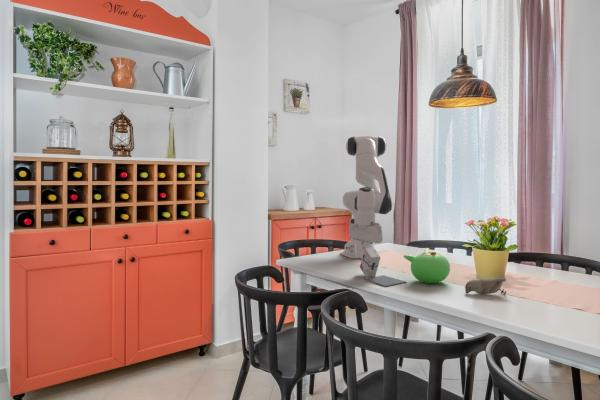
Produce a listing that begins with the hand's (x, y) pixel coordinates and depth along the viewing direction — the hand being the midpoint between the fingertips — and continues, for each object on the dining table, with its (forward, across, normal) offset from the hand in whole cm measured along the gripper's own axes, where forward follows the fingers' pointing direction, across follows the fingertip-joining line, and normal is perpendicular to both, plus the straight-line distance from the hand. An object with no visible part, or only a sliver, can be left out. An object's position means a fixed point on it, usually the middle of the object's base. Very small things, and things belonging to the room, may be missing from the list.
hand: (365, 249), depth 204 cm
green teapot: (+13, -25, -17) cm, 33 cm away
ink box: (+11, -1, 0) cm, 11 cm away
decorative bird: (+13, -50, -21) cm, 56 cm away
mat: (+13, -14, 0) cm, 18 cm away
